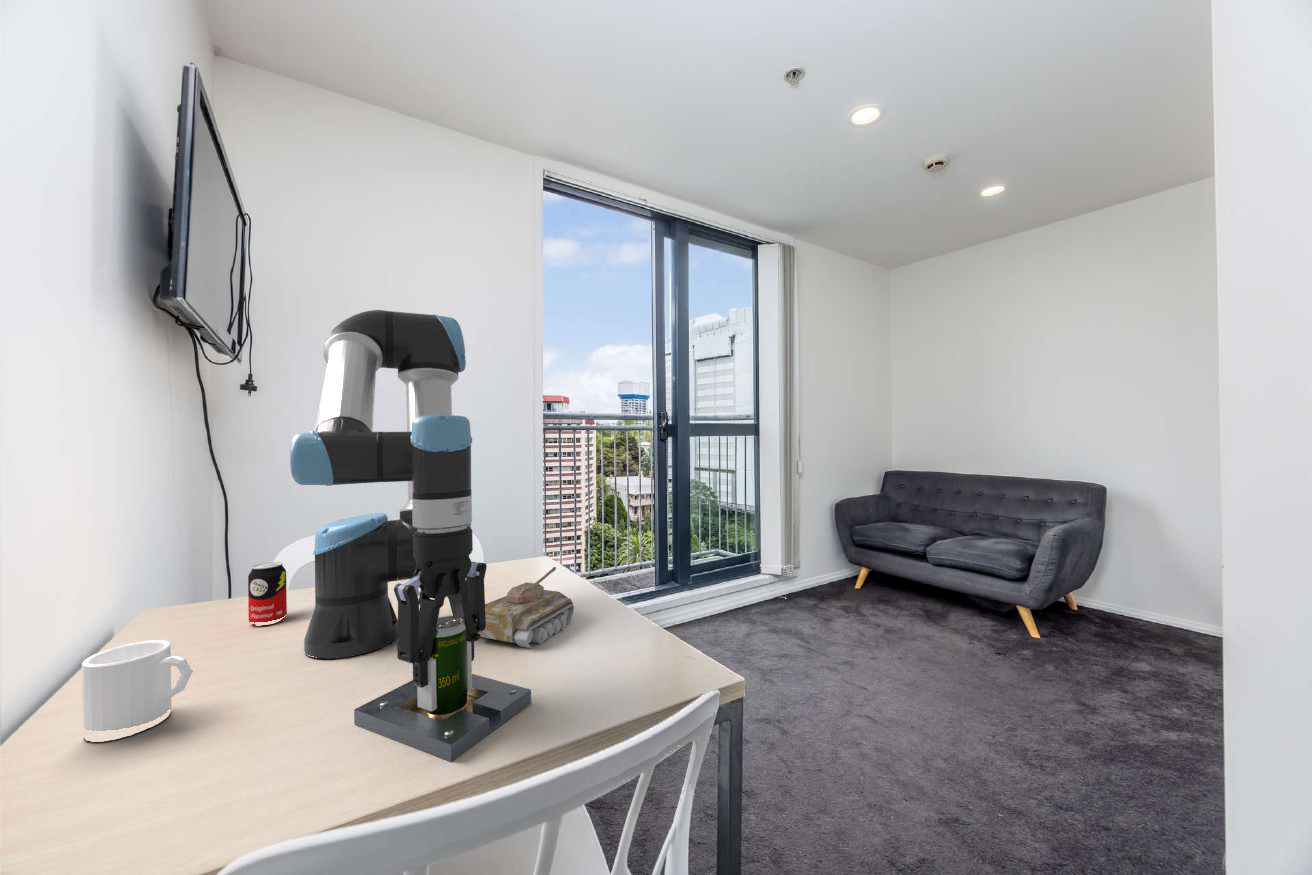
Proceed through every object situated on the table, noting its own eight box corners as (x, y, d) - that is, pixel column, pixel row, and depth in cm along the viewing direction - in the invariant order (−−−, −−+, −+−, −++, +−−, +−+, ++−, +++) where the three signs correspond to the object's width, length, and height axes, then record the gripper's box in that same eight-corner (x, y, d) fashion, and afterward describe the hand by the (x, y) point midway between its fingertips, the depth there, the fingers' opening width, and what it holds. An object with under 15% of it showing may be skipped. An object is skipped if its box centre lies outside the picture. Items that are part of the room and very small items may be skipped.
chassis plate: (354, 724, 66) (354, 707, 66) (441, 678, 79) (441, 664, 79) (451, 761, 58) (450, 742, 58) (531, 703, 71) (530, 688, 71)
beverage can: (244, 623, 104) (243, 566, 104) (280, 614, 109) (279, 559, 109) (255, 630, 100) (254, 570, 100) (291, 620, 105) (291, 563, 105)
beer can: (454, 695, 72) (453, 612, 72) (475, 707, 69) (474, 620, 69) (417, 711, 68) (416, 623, 68) (437, 725, 64) (436, 632, 65)
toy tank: (462, 642, 93) (461, 589, 93) (529, 608, 112) (528, 563, 112) (528, 655, 87) (527, 598, 87) (587, 616, 106) (587, 569, 106)
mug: (164, 740, 63) (163, 662, 63) (63, 745, 62) (62, 666, 62) (216, 706, 71) (215, 637, 71) (127, 710, 71) (126, 640, 71)
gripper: (401, 542, 59) (404, 740, 58) (511, 519, 75) (513, 673, 75) (360, 538, 62) (363, 725, 62) (474, 516, 78) (476, 664, 78)
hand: (445, 696), depth 68 cm, fingers closed on beer can, 5 cm apart
